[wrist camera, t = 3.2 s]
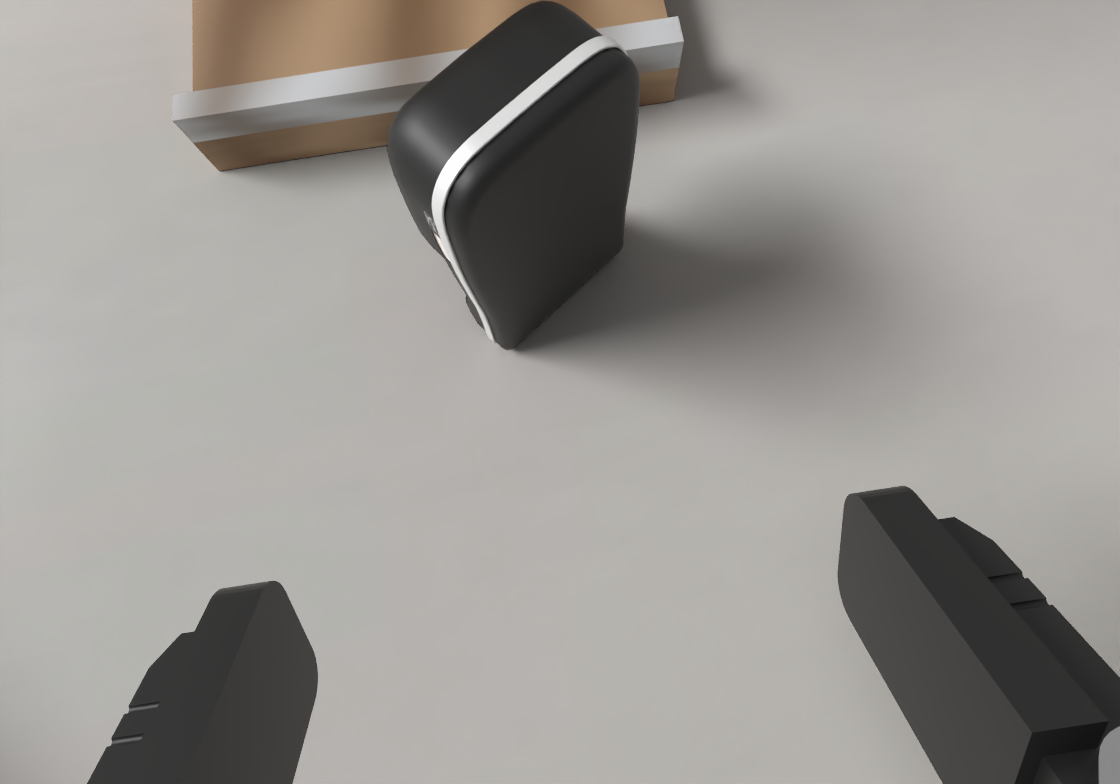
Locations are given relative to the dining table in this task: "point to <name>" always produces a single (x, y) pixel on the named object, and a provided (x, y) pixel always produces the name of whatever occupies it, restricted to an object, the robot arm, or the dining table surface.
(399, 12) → the shelf
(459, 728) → the dining table surface
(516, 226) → the battery charger
